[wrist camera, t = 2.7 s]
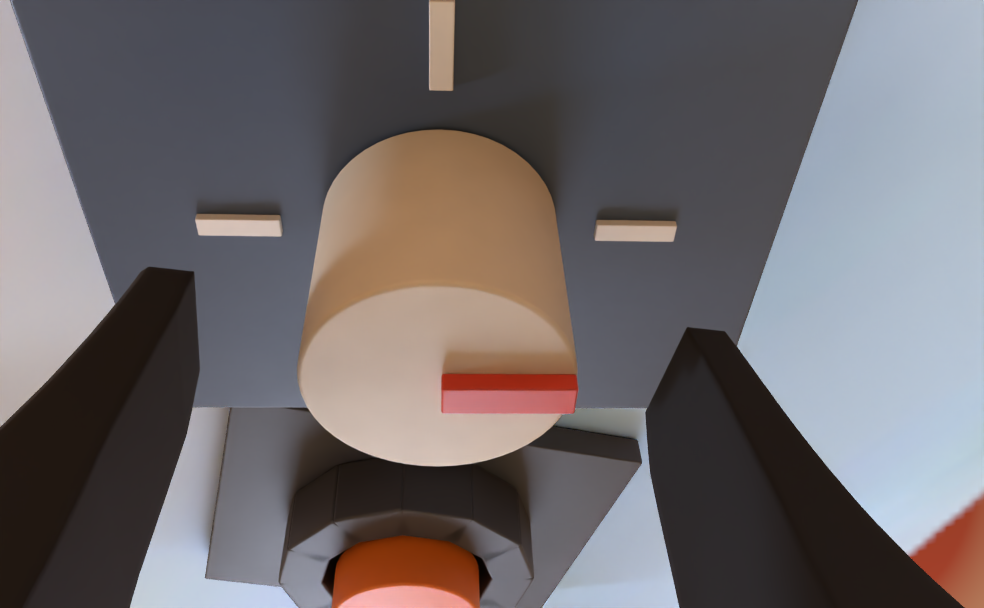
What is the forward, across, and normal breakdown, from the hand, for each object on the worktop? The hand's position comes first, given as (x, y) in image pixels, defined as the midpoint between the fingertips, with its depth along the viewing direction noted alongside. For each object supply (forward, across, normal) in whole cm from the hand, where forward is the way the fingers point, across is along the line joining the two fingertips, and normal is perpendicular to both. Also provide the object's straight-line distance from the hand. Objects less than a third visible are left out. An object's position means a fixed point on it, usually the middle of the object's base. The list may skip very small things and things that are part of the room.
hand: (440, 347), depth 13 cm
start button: (+4, -1, +13) cm, 14 cm away
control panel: (+6, 0, 0) cm, 6 cm away
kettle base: (+6, -1, +13) cm, 14 cm away
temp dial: (+3, 0, 0) cm, 3 cm away
